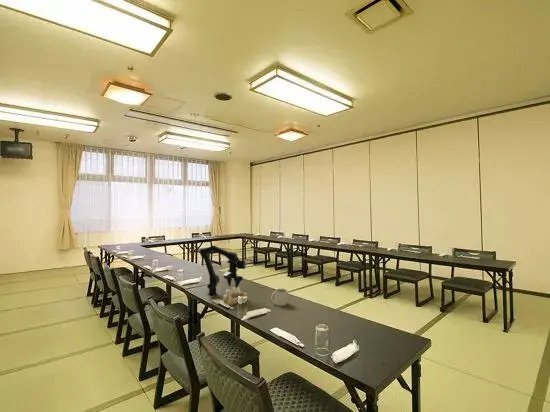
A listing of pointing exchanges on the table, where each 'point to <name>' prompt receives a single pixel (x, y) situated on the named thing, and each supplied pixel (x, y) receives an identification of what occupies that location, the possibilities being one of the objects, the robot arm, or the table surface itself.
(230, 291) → the roll
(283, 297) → the mug
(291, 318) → the table surface
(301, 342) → the table surface
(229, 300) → the holder
